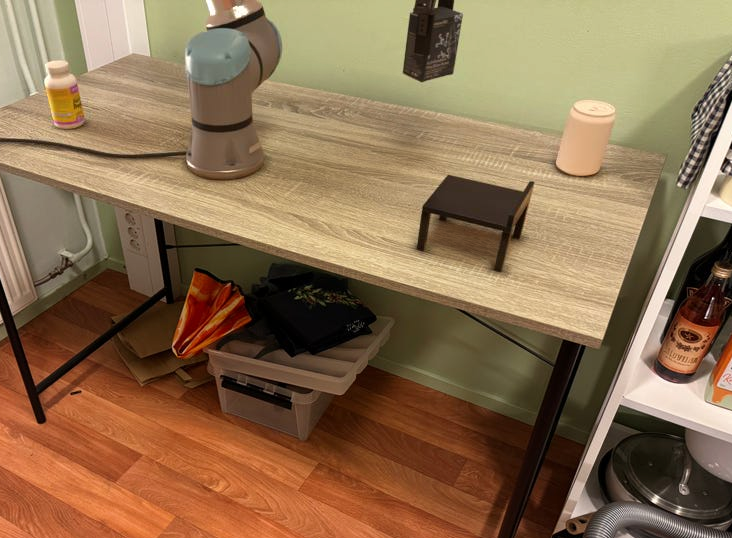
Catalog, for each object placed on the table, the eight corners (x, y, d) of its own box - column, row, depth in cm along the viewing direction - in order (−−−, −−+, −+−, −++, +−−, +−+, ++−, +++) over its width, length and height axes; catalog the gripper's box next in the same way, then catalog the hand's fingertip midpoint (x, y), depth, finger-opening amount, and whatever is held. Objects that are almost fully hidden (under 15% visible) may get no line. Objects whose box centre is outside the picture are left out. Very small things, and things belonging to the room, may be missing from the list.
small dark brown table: (416, 249, 111) (424, 193, 104) (441, 216, 119) (449, 163, 112) (500, 272, 106) (514, 215, 99) (521, 236, 114) (534, 181, 107)
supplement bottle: (81, 130, 148) (68, 69, 139) (51, 130, 148) (36, 69, 140) (88, 117, 153) (76, 58, 144) (59, 118, 153) (45, 58, 145)
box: (422, 83, 122) (430, 20, 115) (401, 74, 125) (408, 12, 118) (454, 75, 125) (464, 12, 118) (433, 66, 128) (441, 5, 121)
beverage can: (550, 159, 135) (566, 99, 127) (591, 159, 135) (609, 99, 127) (561, 178, 129) (578, 116, 121) (604, 178, 129) (624, 116, 121)
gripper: (451, -92, 98) (430, 67, 113) (494, -112, 113) (470, 32, 128) (403, -96, 101) (388, 60, 116) (451, -115, 115) (432, 26, 130)
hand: (431, 45), depth 122 cm, fingers closed on box, 9 cm apart
